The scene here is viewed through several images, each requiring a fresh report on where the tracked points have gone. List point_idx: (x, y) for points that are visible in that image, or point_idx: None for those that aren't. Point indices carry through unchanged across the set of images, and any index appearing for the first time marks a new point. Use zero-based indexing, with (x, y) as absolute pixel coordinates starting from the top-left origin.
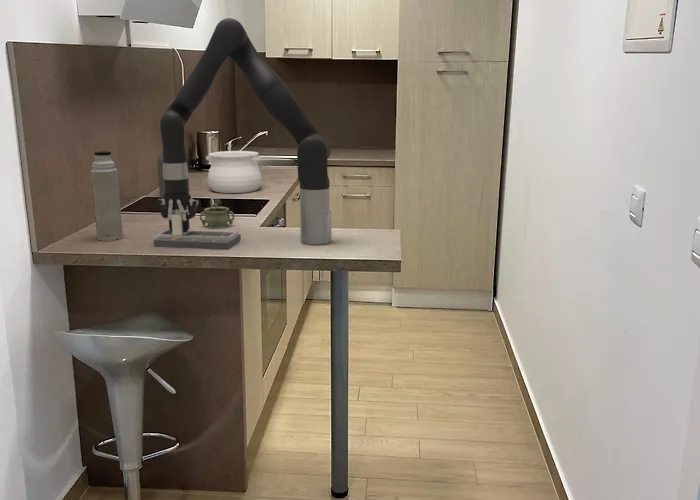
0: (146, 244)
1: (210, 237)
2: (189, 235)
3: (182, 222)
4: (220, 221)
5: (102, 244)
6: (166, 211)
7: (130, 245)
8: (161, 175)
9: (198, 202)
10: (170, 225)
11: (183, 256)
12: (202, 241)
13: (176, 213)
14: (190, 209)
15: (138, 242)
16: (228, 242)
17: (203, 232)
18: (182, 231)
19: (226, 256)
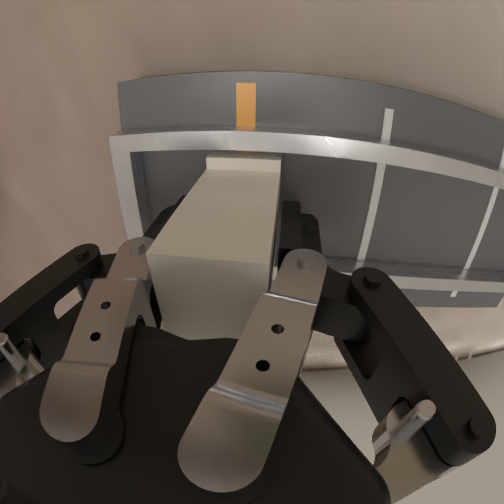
0: (111, 236)
1: (448, 288)
2: None
3: (271, 282)
4: None
5: (9, 248)
6: (69, 288)
7: None
8: None
9: (479, 427)
10: None
11: (340, 368)
12: (407, 297)
13: (183, 308)
14: (370, 403)
15: (64, 208)
16: (500, 299)
17: (404, 164)
18: (275, 247)
19: (464, 351)
